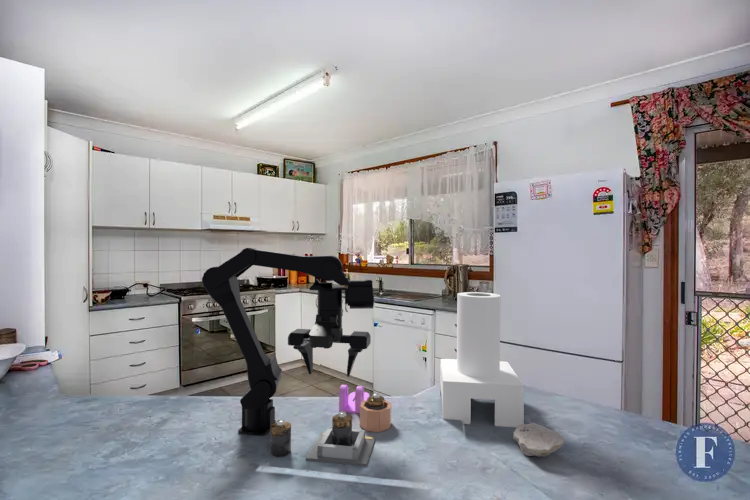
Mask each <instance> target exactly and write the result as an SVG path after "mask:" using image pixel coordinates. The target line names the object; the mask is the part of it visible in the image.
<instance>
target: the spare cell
mask: <svg viewBox="0 0 750 500" xmlns="http://www.w3.org/2000/svg"><path fill="white" fill-rule="evenodd" d="M291 451H292V424H291V423H290V422H289V421H286V420H285V419H281V418H280V419H277V420H276V423H274V424H272V425H271V429H270V455H271V457H274V458H283V457H287V456H288V455H290V453H291Z"/></svg>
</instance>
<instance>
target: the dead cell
mask: <svg viewBox="0 0 750 500" xmlns="http://www.w3.org/2000/svg"><path fill="white" fill-rule="evenodd" d="M384 399H385V397H384V396H382V395H380V393H377V392H374V393H372V395H371V396H370V395H369V397H368V398H367V408H368V409H373V410H380V409H384Z"/></svg>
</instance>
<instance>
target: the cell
mask: <svg viewBox="0 0 750 500" xmlns="http://www.w3.org/2000/svg"><path fill="white" fill-rule="evenodd" d="M331 424H332V425H331V427H332V445H342V446H352V429H353V417H352V415H350V414H348V413H347V412H344V411H341V412H339V411H338V414H337V413H336V414H335V415H333V416H332V421H331Z"/></svg>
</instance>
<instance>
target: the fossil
mask: <svg viewBox="0 0 750 500" xmlns="http://www.w3.org/2000/svg"><path fill="white" fill-rule="evenodd" d="M512 436H513V437H512V438H513V440H514V441H515V442H517V444H518V445H519V448H520V452H521V453H522V454H523V455H525V456H527V457H532V456H535V457H538V458H539V457H547V456H549V455H551V453H553V452H556V451H557V450H559V449H560V448H561V447H562V446H563V445H564V443H565V438H564V437H563V436H561V434H560V433H559V432H557V431H554V430H552V429H550V428H548V427H546V426H543V425H541V424H540V425H539V424H538V423H535V422H531V423H529V424H528V423H524V424H522V425H518V426H517V427H515V430H514V431H513V434H512Z"/></svg>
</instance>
